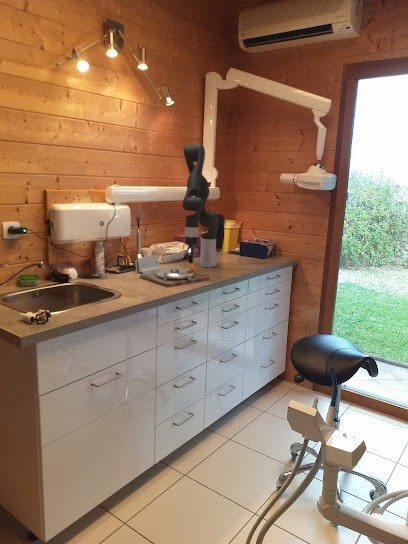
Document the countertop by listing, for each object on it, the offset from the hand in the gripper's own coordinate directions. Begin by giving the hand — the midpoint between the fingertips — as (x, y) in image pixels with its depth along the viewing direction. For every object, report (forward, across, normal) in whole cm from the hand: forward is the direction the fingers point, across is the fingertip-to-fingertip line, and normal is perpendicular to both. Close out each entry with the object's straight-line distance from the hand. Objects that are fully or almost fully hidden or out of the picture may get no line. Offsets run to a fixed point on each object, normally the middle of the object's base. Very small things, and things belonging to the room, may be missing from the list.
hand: (190, 267), depth 228 cm
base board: (+6, +6, -8) cm, 11 cm away
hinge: (+7, -9, -26) cm, 28 cm away
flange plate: (+3, +6, -7) cm, 10 cm away
